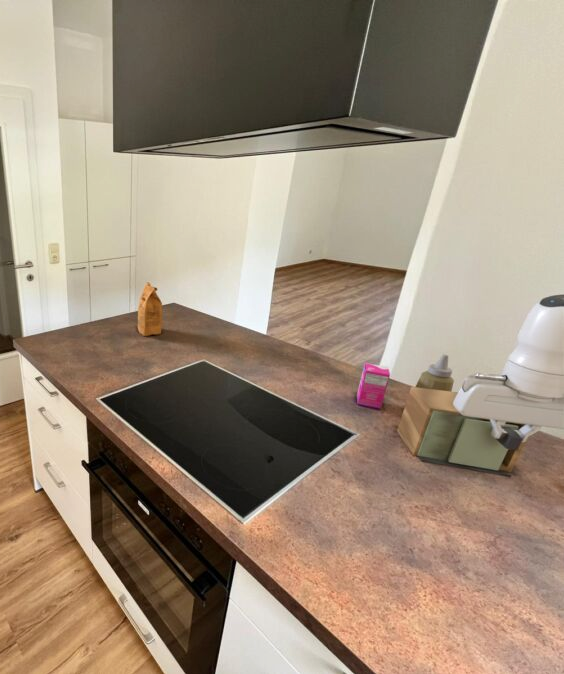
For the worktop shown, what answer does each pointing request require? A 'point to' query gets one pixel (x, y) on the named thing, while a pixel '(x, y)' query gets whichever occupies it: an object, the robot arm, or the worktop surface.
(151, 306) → the coffee package
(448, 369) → the squeeze bottle
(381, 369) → the supplement box
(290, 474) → the worktop surface
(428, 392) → the cabinet
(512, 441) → the sliding door
